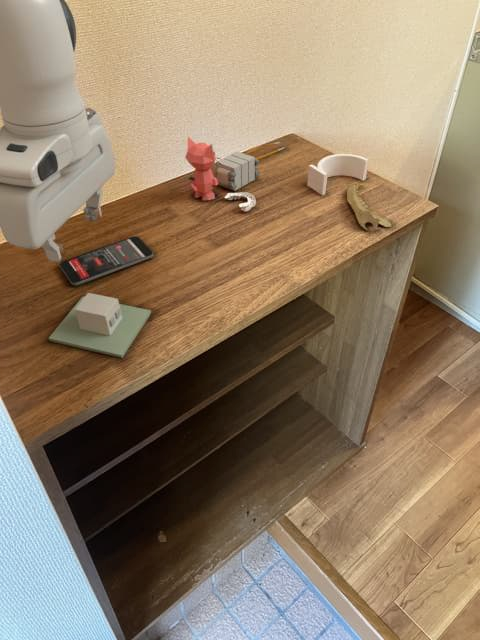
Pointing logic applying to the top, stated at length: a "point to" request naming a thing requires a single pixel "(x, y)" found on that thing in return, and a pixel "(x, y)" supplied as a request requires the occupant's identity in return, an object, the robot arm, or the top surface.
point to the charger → (98, 314)
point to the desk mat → (99, 342)
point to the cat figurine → (202, 169)
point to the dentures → (240, 195)
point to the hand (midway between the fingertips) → (76, 237)
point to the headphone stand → (336, 170)
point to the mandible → (363, 209)
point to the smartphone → (105, 260)
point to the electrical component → (239, 169)
